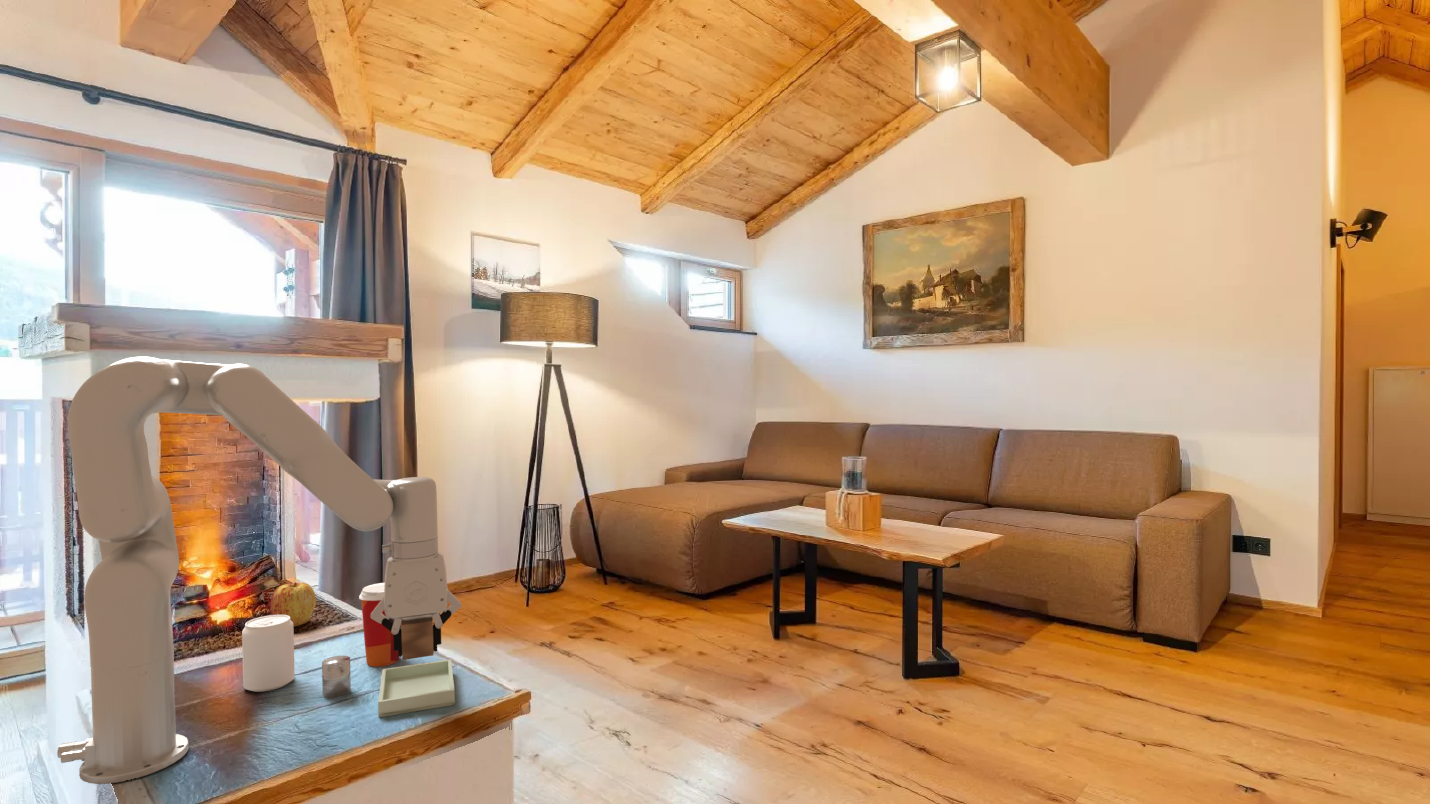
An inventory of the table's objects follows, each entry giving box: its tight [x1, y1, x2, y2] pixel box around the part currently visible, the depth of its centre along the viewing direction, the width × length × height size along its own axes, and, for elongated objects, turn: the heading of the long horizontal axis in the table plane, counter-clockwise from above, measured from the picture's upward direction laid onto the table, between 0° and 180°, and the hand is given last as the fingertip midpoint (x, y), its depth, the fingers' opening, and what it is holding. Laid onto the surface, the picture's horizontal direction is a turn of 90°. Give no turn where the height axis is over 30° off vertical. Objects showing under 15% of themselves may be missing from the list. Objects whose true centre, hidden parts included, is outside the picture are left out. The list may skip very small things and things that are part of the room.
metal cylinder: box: [321, 655, 352, 700], centre depth 130 cm, size 4×4×6 cm
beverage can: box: [241, 614, 296, 693], centre depth 133 cm, size 8×8×12 cm
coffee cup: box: [358, 582, 401, 668], centre depth 144 cm, size 8×8×15 cm
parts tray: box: [377, 658, 456, 718], centre depth 129 cm, size 12×15×3 cm
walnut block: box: [401, 615, 435, 661], centre depth 126 cm, size 5×5×6 cm
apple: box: [270, 582, 317, 628], centre depth 166 cm, size 9×9×10 cm
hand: (418, 650), depth 126 cm, fingers closed on walnut block, 5 cm apart
